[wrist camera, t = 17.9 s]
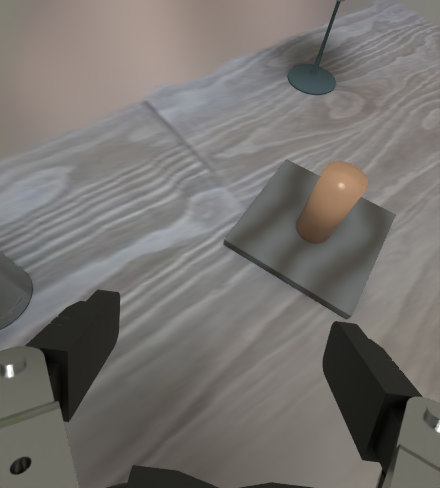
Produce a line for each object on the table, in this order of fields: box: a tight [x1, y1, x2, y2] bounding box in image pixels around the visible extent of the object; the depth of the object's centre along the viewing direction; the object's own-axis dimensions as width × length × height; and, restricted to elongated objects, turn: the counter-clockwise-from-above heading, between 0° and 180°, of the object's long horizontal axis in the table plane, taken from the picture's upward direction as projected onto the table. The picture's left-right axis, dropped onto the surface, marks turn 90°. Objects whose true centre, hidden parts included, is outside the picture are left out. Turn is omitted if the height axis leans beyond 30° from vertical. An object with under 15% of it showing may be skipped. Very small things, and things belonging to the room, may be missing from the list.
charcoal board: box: [224, 159, 396, 319], centre depth 46 cm, size 20×20×2 cm
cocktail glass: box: [288, 0, 344, 95], centre depth 56 cm, size 18×18×25 cm
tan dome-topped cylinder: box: [296, 162, 368, 243], centre depth 41 cm, size 6×6×11 cm
